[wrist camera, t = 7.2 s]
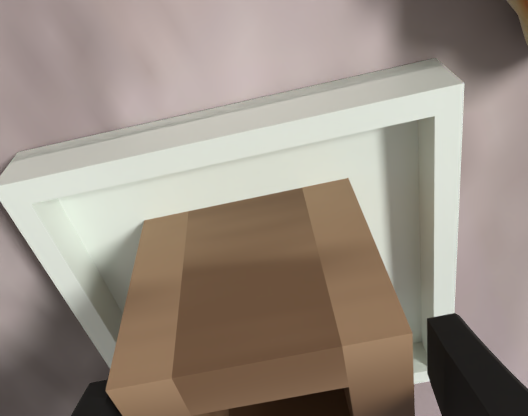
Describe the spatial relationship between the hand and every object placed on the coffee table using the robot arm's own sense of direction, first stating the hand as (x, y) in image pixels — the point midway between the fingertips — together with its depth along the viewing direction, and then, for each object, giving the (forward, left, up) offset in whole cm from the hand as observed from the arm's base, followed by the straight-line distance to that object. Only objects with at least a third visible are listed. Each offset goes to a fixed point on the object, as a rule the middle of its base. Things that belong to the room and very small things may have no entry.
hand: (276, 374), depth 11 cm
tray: (0, 0, -4) cm, 4 cm away
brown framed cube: (0, 0, -3) cm, 3 cm away
